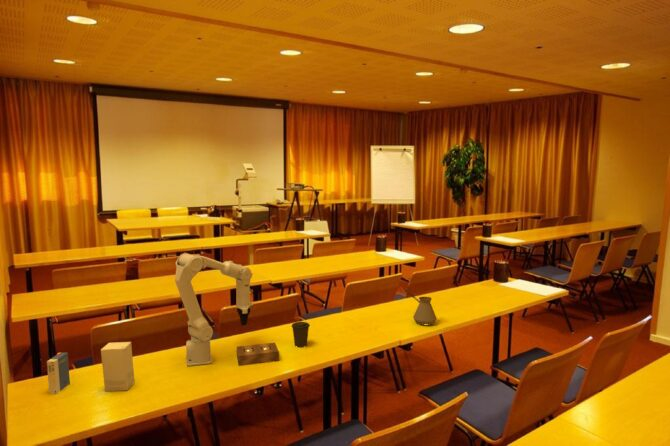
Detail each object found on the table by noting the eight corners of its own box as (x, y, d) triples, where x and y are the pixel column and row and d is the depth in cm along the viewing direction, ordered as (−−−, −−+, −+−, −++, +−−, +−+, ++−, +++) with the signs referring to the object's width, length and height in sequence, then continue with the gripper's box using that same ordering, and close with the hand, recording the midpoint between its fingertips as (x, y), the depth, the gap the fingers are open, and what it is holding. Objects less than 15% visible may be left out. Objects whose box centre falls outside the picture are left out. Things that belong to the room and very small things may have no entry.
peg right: (262, 358, 184) (262, 349, 184) (261, 356, 187) (261, 346, 187) (270, 358, 185) (270, 348, 185) (269, 355, 188) (269, 345, 188)
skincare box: (135, 382, 164) (132, 341, 162) (127, 391, 158) (124, 348, 156) (111, 383, 164) (109, 341, 162) (102, 392, 157) (100, 348, 156)
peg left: (245, 360, 182) (245, 351, 182) (244, 358, 185) (244, 348, 185) (253, 360, 183) (252, 350, 183) (252, 357, 186) (252, 347, 186)
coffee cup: (307, 349, 195) (307, 326, 194) (289, 347, 196) (288, 325, 195) (312, 342, 203) (311, 320, 201) (294, 340, 204) (294, 319, 203)
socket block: (238, 365, 178) (238, 356, 178) (236, 355, 188) (236, 346, 187) (279, 360, 183) (278, 351, 182) (275, 351, 192) (274, 342, 192)
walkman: (62, 383, 164) (60, 351, 162) (70, 383, 164) (67, 351, 162) (48, 394, 156) (45, 360, 155) (56, 394, 156) (54, 360, 155)
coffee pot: (441, 323, 227) (442, 294, 225) (425, 328, 220) (426, 298, 218) (410, 313, 244) (410, 286, 242) (394, 317, 237) (395, 289, 235)
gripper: (254, 298, 189) (255, 329, 191) (250, 289, 203) (251, 318, 204) (237, 299, 187) (238, 331, 189) (234, 290, 201) (235, 320, 202)
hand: (243, 324), depth 196 cm, fingers closed
